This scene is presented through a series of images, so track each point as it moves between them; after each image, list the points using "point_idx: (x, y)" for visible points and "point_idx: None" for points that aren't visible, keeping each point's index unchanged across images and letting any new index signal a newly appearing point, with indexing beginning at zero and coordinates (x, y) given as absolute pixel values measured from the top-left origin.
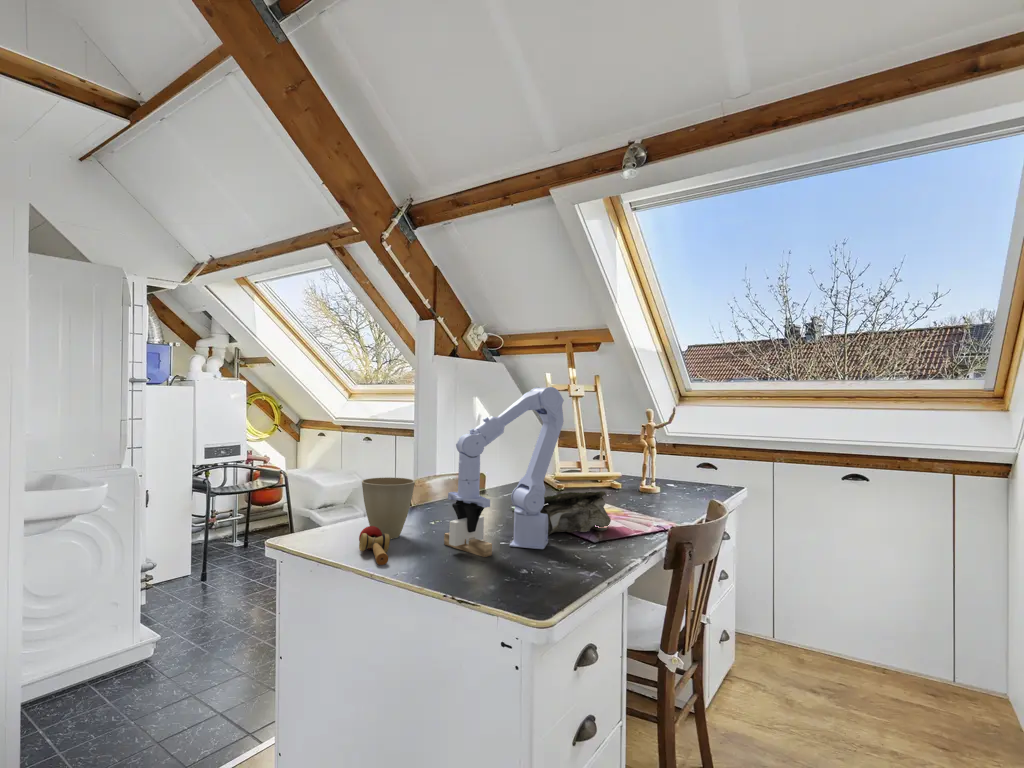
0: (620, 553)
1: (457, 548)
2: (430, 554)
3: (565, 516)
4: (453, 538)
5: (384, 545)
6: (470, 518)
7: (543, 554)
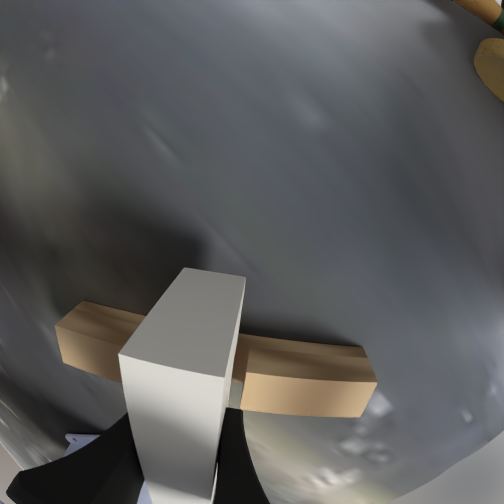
0: (9, 439)
1: (262, 337)
2: (308, 168)
3: None
4: (191, 288)
5: (487, 38)
6: (85, 446)
7: (37, 402)
